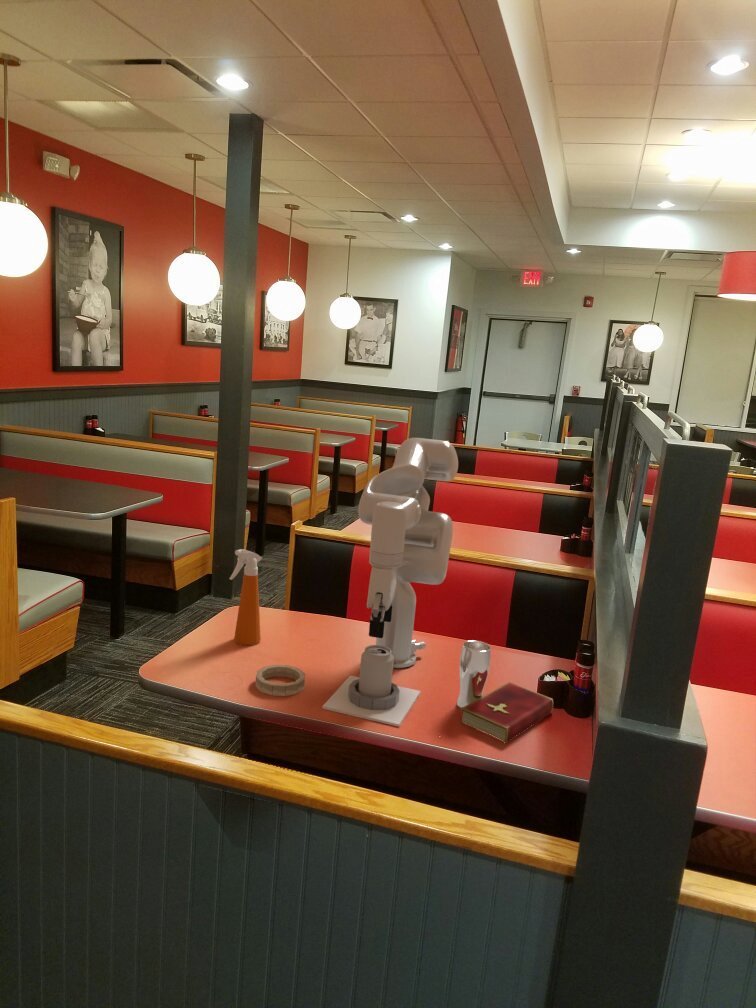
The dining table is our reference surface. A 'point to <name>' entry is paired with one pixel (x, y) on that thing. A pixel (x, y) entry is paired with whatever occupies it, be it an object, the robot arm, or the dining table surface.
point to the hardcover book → (507, 711)
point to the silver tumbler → (473, 671)
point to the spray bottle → (248, 599)
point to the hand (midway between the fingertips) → (380, 628)
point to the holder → (372, 703)
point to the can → (376, 671)
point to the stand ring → (278, 688)
